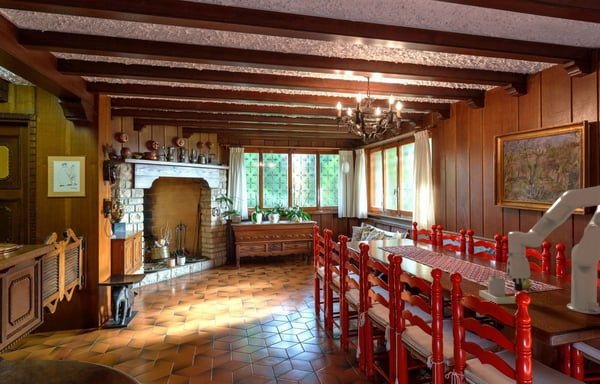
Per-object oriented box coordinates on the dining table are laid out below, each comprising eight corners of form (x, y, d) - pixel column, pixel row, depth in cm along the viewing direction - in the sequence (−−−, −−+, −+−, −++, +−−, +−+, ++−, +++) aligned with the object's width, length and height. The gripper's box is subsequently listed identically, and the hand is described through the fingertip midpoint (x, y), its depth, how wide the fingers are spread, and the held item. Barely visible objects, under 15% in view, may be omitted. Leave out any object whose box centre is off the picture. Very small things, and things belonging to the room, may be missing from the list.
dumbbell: (530, 289, 202) (530, 277, 202) (514, 287, 206) (514, 275, 206) (526, 282, 217) (526, 271, 217) (511, 281, 221) (511, 269, 221)
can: (490, 296, 189) (490, 274, 189) (506, 299, 184) (506, 276, 184) (486, 299, 184) (486, 276, 183) (502, 302, 179) (503, 279, 178)
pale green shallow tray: (515, 303, 178) (515, 297, 178) (494, 303, 177) (494, 297, 177) (498, 295, 191) (498, 289, 191) (479, 295, 190) (479, 290, 190)
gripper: (508, 257, 180) (510, 293, 180) (535, 255, 181) (537, 291, 181) (498, 255, 187) (500, 289, 187) (525, 253, 189) (526, 288, 189)
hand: (518, 290), depth 184 cm, fingers closed
